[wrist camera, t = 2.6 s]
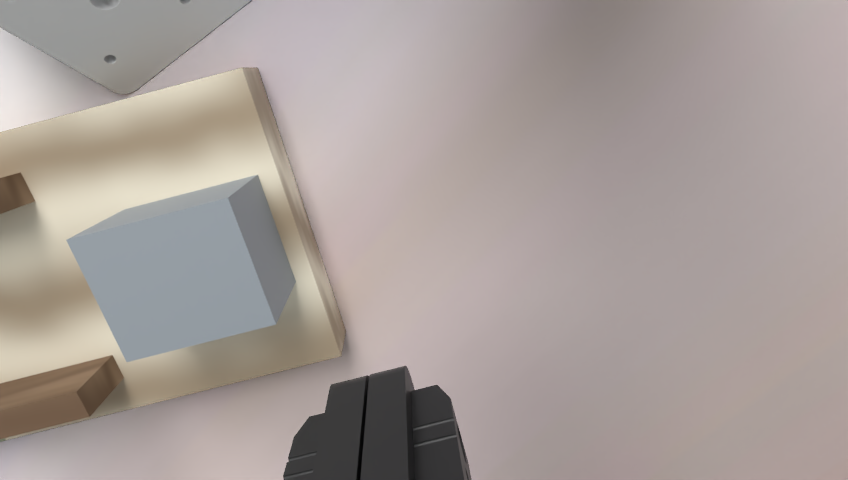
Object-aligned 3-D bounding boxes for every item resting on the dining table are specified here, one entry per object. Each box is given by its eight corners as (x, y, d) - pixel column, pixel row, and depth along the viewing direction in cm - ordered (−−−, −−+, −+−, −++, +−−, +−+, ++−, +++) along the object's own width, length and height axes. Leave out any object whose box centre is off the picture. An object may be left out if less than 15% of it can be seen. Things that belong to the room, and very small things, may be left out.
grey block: (124, 209, 27) (66, 240, 22) (257, 174, 26) (227, 197, 22) (171, 313, 29) (126, 362, 24) (295, 281, 28) (276, 324, 24)
